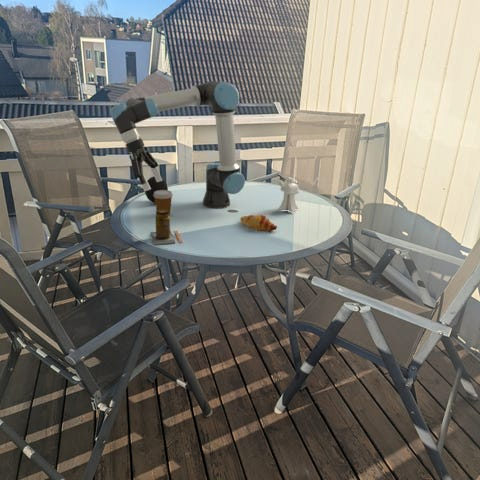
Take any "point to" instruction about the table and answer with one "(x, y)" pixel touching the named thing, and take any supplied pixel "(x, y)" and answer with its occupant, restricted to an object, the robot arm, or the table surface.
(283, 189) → the white mech figurine
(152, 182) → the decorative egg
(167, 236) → the condiment
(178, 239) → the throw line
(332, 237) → the table surface
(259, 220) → the croissant
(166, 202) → the disposable coffee cup
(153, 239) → the mat
